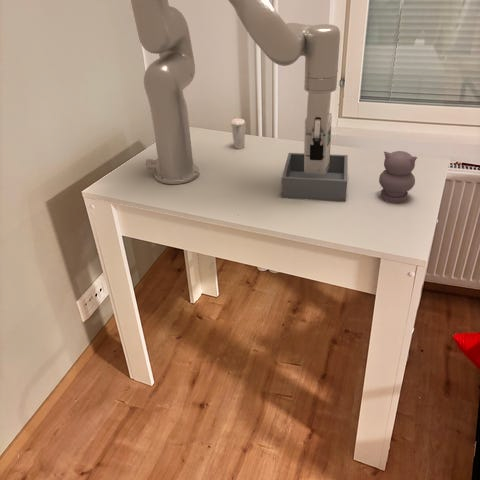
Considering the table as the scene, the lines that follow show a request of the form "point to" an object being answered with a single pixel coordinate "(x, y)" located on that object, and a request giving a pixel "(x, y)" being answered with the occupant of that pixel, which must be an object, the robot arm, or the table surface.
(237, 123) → the milkshake
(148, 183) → the table surface
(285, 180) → the bin
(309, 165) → the syrup box
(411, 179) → the cat figurine
